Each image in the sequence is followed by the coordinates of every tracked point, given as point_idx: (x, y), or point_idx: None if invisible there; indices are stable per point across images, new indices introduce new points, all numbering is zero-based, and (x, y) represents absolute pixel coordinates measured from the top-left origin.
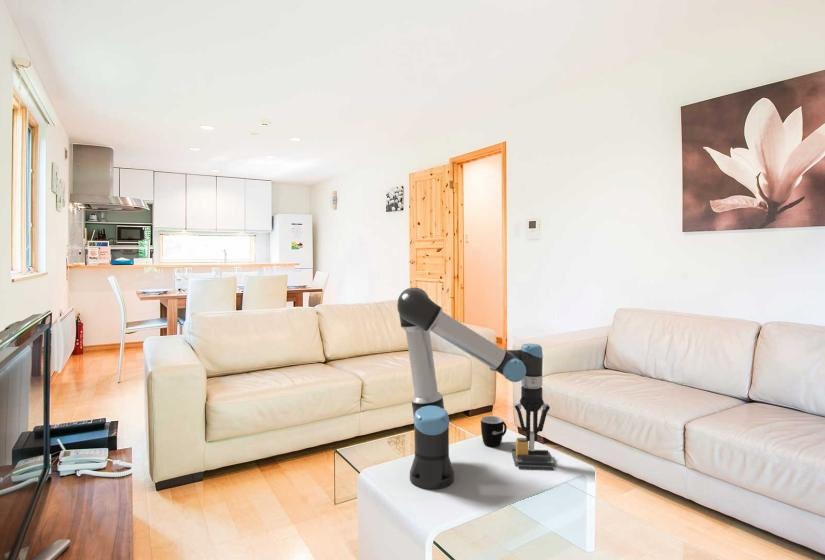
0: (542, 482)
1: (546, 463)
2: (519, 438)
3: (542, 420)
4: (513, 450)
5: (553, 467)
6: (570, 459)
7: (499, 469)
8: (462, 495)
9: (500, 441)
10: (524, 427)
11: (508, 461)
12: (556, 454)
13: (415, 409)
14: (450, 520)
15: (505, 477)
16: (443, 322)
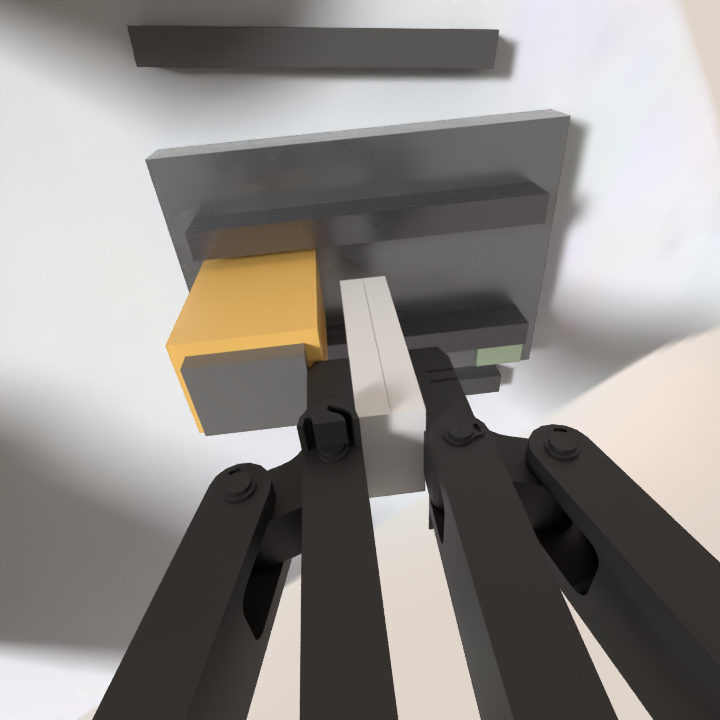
0: (391, 508)
1: (462, 364)
2: (216, 387)
3: (668, 706)
4: (152, 66)
5: (497, 391)
6: (716, 165)
7: (127, 432)
8: (46, 638)
9: None
10: (276, 592)
11: (158, 305)
12: (643, 45)
13: None
14: (82, 713)
15: (190, 503)
16: None
